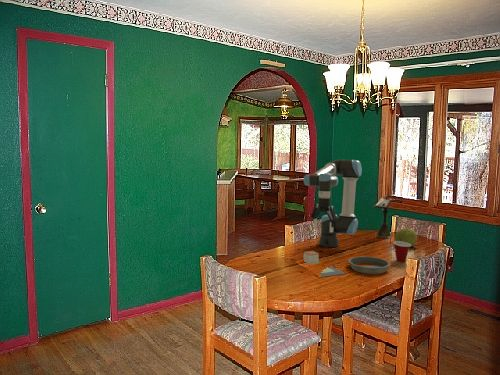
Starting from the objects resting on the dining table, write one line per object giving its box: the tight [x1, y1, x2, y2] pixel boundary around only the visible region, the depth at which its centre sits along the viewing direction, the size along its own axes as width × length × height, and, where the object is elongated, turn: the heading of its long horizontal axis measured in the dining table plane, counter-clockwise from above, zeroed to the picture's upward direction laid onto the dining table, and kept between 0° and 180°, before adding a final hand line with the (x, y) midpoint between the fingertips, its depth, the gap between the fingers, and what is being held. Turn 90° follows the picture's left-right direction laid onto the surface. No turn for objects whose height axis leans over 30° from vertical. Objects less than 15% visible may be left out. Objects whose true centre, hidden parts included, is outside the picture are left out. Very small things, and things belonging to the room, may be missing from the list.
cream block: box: [303, 250, 320, 264], centre depth 271 cm, size 7×7×7 cm
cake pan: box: [348, 256, 390, 275], centre depth 262 cm, size 25×25×4 cm
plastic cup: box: [393, 240, 411, 263], centre depth 278 cm, size 11×11×12 cm
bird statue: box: [373, 194, 394, 239], centre depth 341 cm, size 17×13×35 cm
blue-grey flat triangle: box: [318, 265, 346, 278], centre depth 264 cm, size 34×18×1 cm, turn 22°
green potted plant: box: [394, 227, 418, 248], centre depth 314 cm, size 16×14×15 cm
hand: (323, 230), depth 271 cm, fingers open, 13 cm apart
